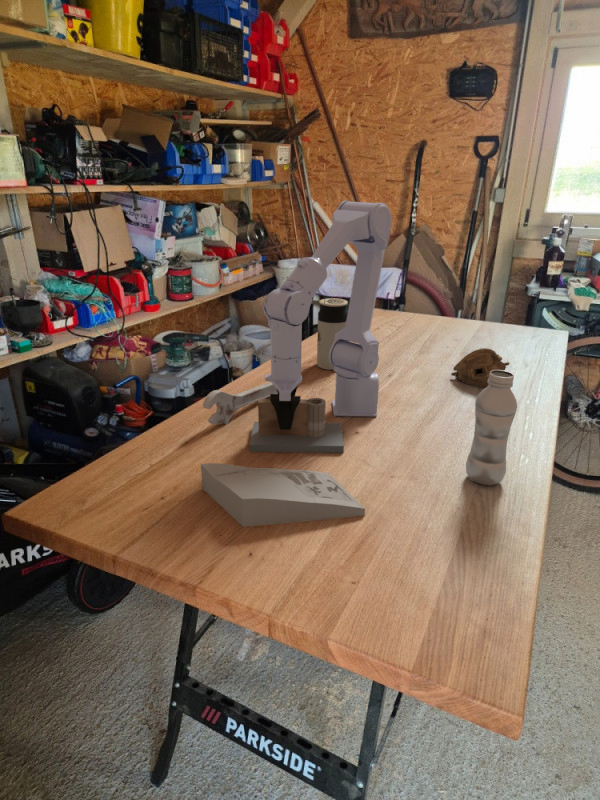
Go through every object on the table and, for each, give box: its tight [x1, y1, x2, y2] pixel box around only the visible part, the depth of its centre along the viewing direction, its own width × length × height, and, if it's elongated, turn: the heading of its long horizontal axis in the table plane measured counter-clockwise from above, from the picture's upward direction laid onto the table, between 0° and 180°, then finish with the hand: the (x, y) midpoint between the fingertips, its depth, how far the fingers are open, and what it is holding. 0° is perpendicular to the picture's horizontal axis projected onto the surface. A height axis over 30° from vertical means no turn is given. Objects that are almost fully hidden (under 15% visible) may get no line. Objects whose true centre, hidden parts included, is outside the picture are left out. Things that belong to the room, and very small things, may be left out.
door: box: [257, 397, 327, 438], centre depth 104 cm, size 13×4×7 cm, turn 90°
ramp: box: [200, 462, 366, 528], centre depth 85 cm, size 28×16×5 cm, turn 78°
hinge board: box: [249, 421, 345, 454], centre depth 105 cm, size 18×10×4 cm, turn 90°
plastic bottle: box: [465, 370, 518, 486], centre depth 89 cm, size 6×7×20 cm
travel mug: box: [316, 297, 349, 371], centre depth 143 cm, size 8×8×18 cm
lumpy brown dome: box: [451, 347, 510, 389], centre depth 141 cm, size 10×24×15 cm
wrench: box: [202, 381, 278, 425], centre depth 119 cm, size 8×2×30 cm
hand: (286, 420), depth 104 cm, fingers open, 7 cm apart
